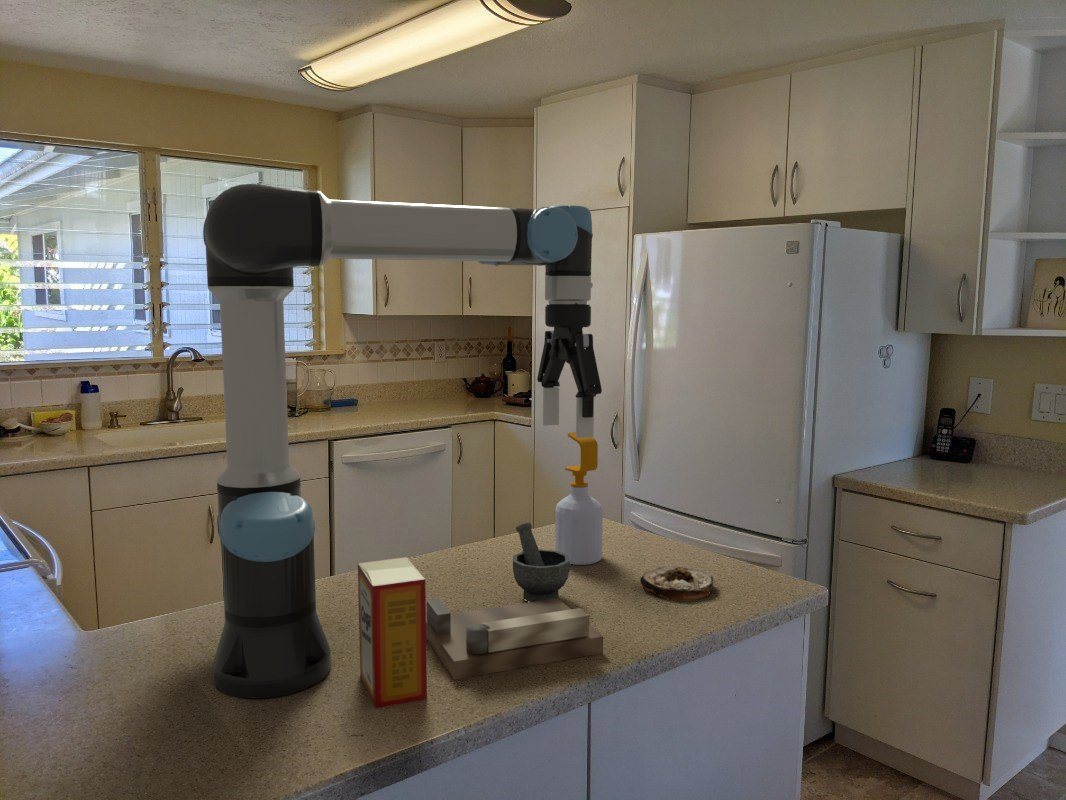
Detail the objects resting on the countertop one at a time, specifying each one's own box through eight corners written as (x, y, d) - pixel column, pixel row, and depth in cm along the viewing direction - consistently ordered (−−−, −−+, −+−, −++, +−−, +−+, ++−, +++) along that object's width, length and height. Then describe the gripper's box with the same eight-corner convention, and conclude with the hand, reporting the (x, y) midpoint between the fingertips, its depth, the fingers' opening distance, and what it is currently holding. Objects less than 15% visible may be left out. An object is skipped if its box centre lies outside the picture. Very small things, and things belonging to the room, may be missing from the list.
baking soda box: (360, 675, 111) (357, 560, 109) (408, 667, 113) (406, 554, 111) (375, 708, 102) (372, 583, 100) (427, 698, 105) (425, 576, 103)
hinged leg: (470, 655, 111) (470, 634, 110) (463, 646, 114) (463, 625, 113) (589, 636, 117) (589, 615, 117) (579, 627, 120) (579, 607, 120)
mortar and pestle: (581, 600, 138) (581, 530, 137) (535, 613, 133) (536, 540, 131) (540, 581, 147) (541, 515, 146) (496, 592, 142) (496, 524, 140)
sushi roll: (616, 586, 147) (616, 563, 146) (677, 570, 155) (678, 549, 154) (675, 612, 134) (675, 587, 134) (738, 594, 143) (739, 570, 142)
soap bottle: (579, 548, 167) (580, 427, 164) (611, 559, 160) (613, 433, 157) (545, 557, 161) (546, 432, 158) (577, 569, 154) (578, 438, 151)
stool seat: (454, 679, 110) (453, 639, 109) (423, 633, 125) (422, 598, 124) (603, 653, 118) (603, 616, 117) (557, 613, 133) (557, 580, 132)
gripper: (624, 303, 126) (622, 441, 129) (558, 302, 149) (557, 419, 152) (580, 303, 123) (578, 444, 126) (519, 302, 146) (519, 421, 149)
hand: (567, 431), depth 139 cm, fingers open, 13 cm apart
